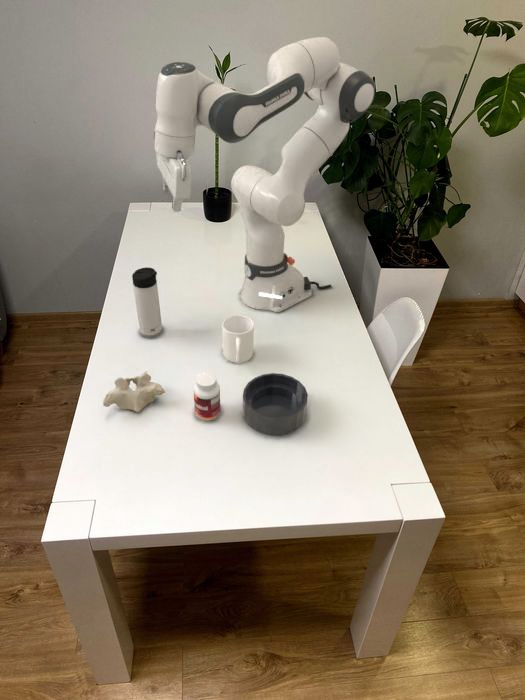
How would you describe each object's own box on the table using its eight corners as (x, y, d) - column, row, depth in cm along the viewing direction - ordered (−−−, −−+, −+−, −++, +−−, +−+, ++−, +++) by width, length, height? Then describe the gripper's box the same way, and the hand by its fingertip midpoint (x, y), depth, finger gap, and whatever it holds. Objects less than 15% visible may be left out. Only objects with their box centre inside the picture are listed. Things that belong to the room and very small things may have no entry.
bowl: (284, 383, 140) (285, 365, 136) (318, 421, 130) (320, 403, 127) (231, 403, 134) (231, 386, 130) (263, 445, 124) (264, 427, 120)
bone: (164, 406, 134) (165, 384, 129) (111, 428, 128) (109, 406, 122) (148, 381, 139) (148, 360, 133) (96, 401, 132) (93, 379, 127)
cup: (252, 343, 152) (253, 314, 146) (254, 372, 143) (255, 342, 137) (222, 344, 152) (222, 314, 145) (223, 373, 143) (222, 343, 136)
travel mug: (159, 340, 152) (151, 279, 140) (136, 336, 153) (127, 276, 141) (166, 326, 157) (160, 267, 144) (145, 323, 158) (136, 263, 145)
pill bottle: (189, 412, 131) (186, 379, 124) (207, 399, 135) (205, 366, 128) (207, 425, 128) (206, 392, 121) (225, 411, 132) (225, 378, 125)
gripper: (200, 161, 116) (195, 221, 124) (178, 128, 130) (175, 184, 139) (170, 161, 114) (168, 222, 122) (152, 127, 128) (150, 184, 136)
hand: (171, 201), depth 131 cm, fingers open, 8 cm apart
